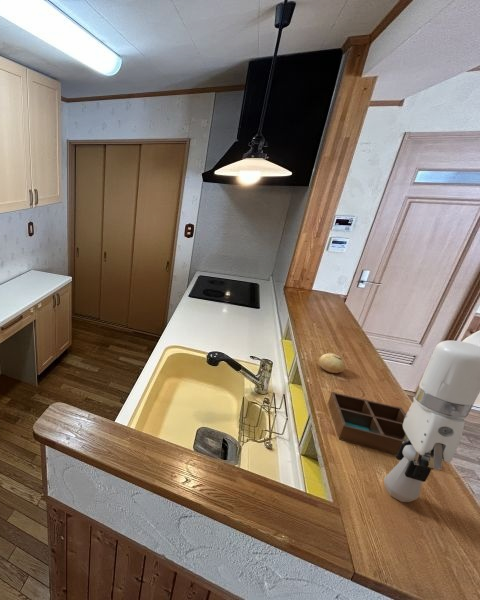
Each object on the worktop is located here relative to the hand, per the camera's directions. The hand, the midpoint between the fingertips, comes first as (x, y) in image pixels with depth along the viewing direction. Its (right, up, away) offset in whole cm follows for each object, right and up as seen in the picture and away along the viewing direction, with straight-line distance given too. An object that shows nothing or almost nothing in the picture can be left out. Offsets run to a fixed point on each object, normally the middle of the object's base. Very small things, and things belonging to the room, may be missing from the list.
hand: (409, 468), depth 71 cm
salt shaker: (0, -7, +3) cm, 8 cm away
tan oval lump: (+22, +11, +51) cm, 57 cm away
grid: (+11, 0, +22) cm, 24 cm away
